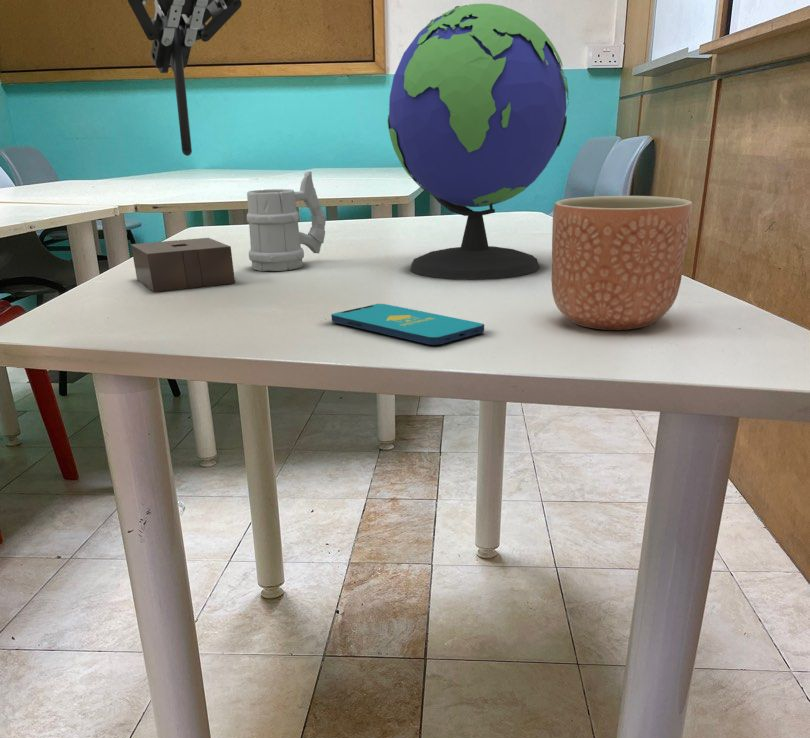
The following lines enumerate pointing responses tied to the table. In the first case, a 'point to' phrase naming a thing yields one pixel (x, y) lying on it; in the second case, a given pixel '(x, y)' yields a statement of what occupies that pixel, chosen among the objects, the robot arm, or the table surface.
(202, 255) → the pen stand
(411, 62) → the globe
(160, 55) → the robot arm
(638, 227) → the planter
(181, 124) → the stylus
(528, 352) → the table surface
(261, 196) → the mug
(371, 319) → the smartphone
